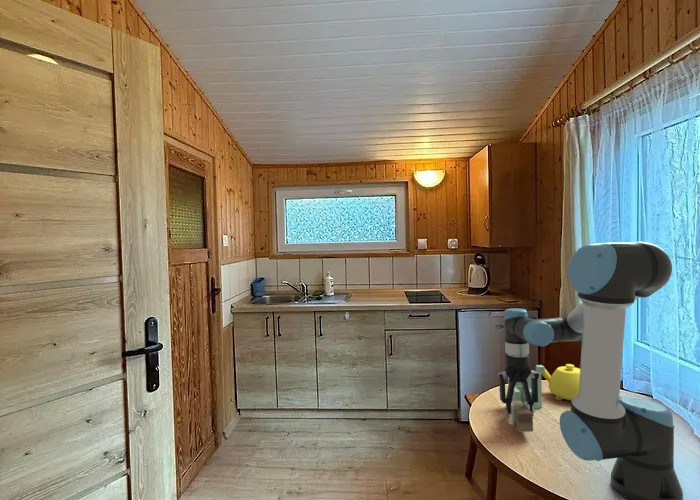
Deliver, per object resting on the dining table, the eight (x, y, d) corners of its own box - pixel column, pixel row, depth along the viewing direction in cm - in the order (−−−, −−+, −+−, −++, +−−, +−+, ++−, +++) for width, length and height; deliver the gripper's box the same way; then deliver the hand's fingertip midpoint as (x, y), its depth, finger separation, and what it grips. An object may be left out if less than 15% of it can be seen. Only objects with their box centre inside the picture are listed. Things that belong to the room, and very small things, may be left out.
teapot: (532, 396, 170) (531, 363, 169) (546, 386, 181) (545, 355, 180) (586, 409, 155) (585, 373, 155) (597, 397, 166) (597, 363, 166)
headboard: (553, 415, 151) (552, 372, 151) (515, 416, 152) (514, 373, 151) (542, 405, 160) (542, 365, 160) (507, 406, 161) (506, 365, 161)
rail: (533, 431, 134) (532, 413, 134) (519, 431, 135) (518, 413, 135) (515, 411, 151) (515, 394, 151) (503, 411, 151) (502, 395, 151)
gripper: (539, 351, 144) (541, 418, 143) (487, 352, 145) (490, 418, 144) (548, 356, 136) (550, 427, 136) (494, 357, 137) (496, 427, 137)
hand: (519, 422), depth 140 cm, fingers closed on rail, 4 cm apart
